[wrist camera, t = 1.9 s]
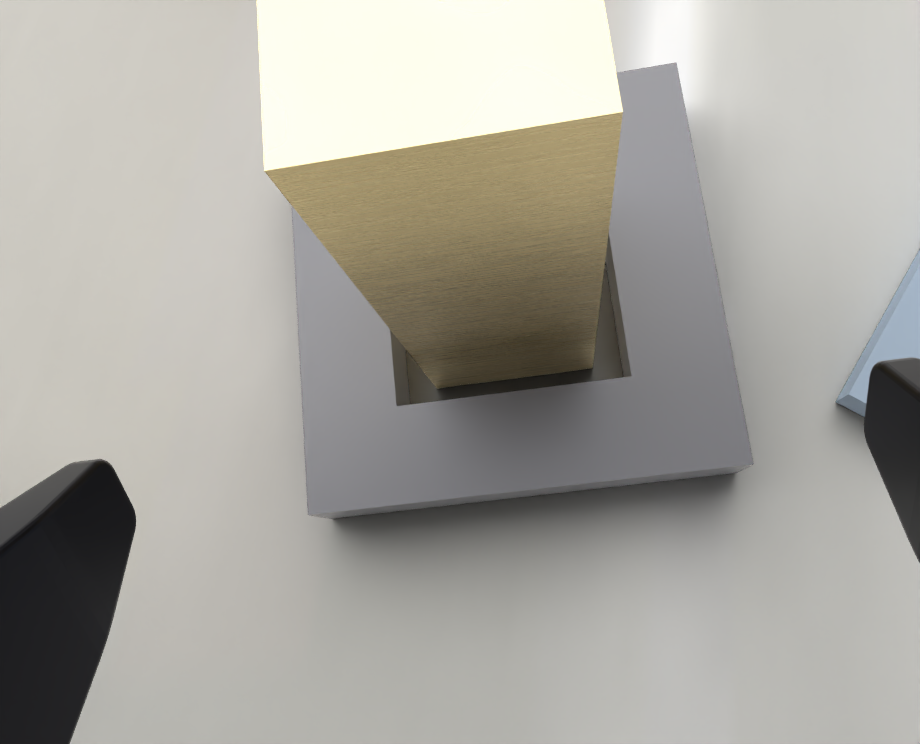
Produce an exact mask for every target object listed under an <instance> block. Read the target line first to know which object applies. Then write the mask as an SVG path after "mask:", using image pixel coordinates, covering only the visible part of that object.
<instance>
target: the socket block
mask: <svg viewBox="0 0 920 744" xmlns="http://www.w3.org/2000/svg"><path fill="white" fill-rule="evenodd" d="M616 75H617V81H618V86H619V92H620V98H621V104H622V110H623V115H622V123H621V132H620V140H619V149H618V157H617V166H616V174H615V182H614V191H613V199H612V208H611V216H610V225H609V233H608V242H607V250H606V259H605V261H606V267H607V274H608V280H609V287H610V293H611V299H612V306H613V312H614V319H615V325H616V331H617V338H618V344H619V351H620V357H621V363H622V370H623V376H624V377H622V378H614V379H606V380H598V381H590V382H583V383H575V384H567V385H559V386H551V387H544V388H536V389H528V390H520V391H512V392H504V393H497V394H489V395H481V396H473V397H465V398H457V399H450V400H442V401H434V402H426V403H418V404H411V405H410V395H409V384H408V372H407V361H406V350H405V348H404V346H403V345H402V344H401V343H400V341H399V340H398V339H397V338H396V336H395V335H394V334H393V332H392V331H391V330H390V329H389V327H388V326H387V325H386V324H385V322H384V321H383V320H382V319H381V317H380V316H379V315H378V314H377V312H376V311H375V310H374V309H373V307H372V306H371V305H370V303H369V302H368V301H367V300H366V298H365V297H364V296H363V295H362V293H361V292H360V291H359V290H358V288H357V287H356V286H355V285H354V283H353V282H352V281H351V280H350V278H349V277H348V276H347V274H346V273H345V272H344V271H343V269H342V268H341V267H340V266H339V264H338V263H337V262H336V261H335V259H334V258H333V257H332V256H331V254H330V253H329V252H328V251H327V249H326V248H325V247H324V245H323V244H322V243H321V242H320V240H319V239H318V238H317V237H316V235H315V234H314V233H313V232H312V230H311V229H310V228H309V227H308V225H307V224H306V223H305V222H304V220H303V219H302V218H301V216H300V215H299V214H298V213H297V211H296V210H295V209H294V208H293V206H292V222H293V241H294V260H295V279H296V298H297V317H298V336H299V355H300V374H301V393H302V412H303V430H304V449H305V468H306V487H307V506H308V515H311V516H318V517H324V518H330V519H333V518H341V517H350V516H359V515H368V514H377V513H386V512H395V511H403V510H412V509H421V508H430V507H439V506H448V505H457V504H465V503H474V502H483V501H492V500H501V499H510V498H518V497H527V496H536V495H545V494H554V493H563V492H572V491H580V490H589V489H598V488H607V487H616V486H625V485H634V484H642V483H651V482H660V481H669V480H678V479H687V478H696V477H704V476H713V475H722V474H731V473H737V472H739V471H741V470H743V469H745V468H747V467H749V466H751V465H753V464H754V463H753V458H752V453H751V448H750V442H749V437H748V432H747V427H746V422H745V417H744V411H743V406H742V401H741V396H740V391H739V385H738V380H737V375H736V370H735V365H734V359H733V354H732V349H731V344H730V339H729V333H728V328H727V323H726V318H725V313H724V307H723V302H722V297H721V292H720V287H719V281H718V276H717V271H716V266H715V261H714V255H713V250H712V245H711V240H710V235H709V229H708V224H707V219H706V214H705V209H704V203H703V198H702V193H701V188H700V183H699V177H698V172H697V167H696V162H695V157H694V152H693V146H692V141H691V136H690V131H689V126H688V120H687V115H686V110H685V105H684V100H683V94H682V89H681V84H680V79H679V74H678V68H677V63H671V64H665V65H659V66H653V67H647V68H641V69H635V70H629V71H624V72H618V73H616Z"/></svg>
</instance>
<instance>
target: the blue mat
mask: <svg viewBox="0 0 920 744" xmlns="http://www.w3.org/2000/svg"><path fill="white" fill-rule="evenodd" d="M908 357H914V358H919V359H920V249H919V251H918V253H917V255H916V257H915V259H914V260H913V262H912V264H911V266H910V268H909V269H908V271H907V273H906V275H905V277H904V279H903V280H902V282H901V284H900V286H899V288H898V289H897V291H896V293H895V295H894V297H893V298H892V300H891V302H890V304H889V306H888V308H887V309H886V311H885V313H884V315H883V317H882V318H881V320H880V322H879V324H878V326H877V327H876V329H875V331H874V333H873V335H872V337H871V338H870V340H869V342H868V344H867V346H866V347H865V349H864V351H863V353H862V355H861V356H860V358H859V360H858V362H857V364H856V366H855V367H854V369H853V371H852V373H851V375H850V376H849V378H848V380H847V382H846V384H845V385H844V387H843V389H842V391H841V393H840V395H839V396H838V398H837V400H836V402H837V403H839V404H840V405H842V406H844V407H846V408H848V409H850V410H852V411H854V412H856V413H858V414H859V415H861V416H863V417H865V410H866V402H867V393H868V385H869V377H870V372H871V370H872V367H873V366H874V365H875V364H876V363H877V362H879V361H885V360H893V359H900V358H908Z"/></svg>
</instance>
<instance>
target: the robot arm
mask: <svg viewBox="0 0 920 744" xmlns="http://www.w3.org/2000/svg"><path fill="white" fill-rule="evenodd" d="M864 432H865V437H866V441H867V444H868V447H869V449H870V451H871V454H872V456H873V458H874V461H875V463H876V465H877V468H878V470H879V472H880V475H881V477H882V479H883V482H884V484H885V486H886V489H887V491H888V493H889V496H890V498H891V500H892V503H893V505H894V507H895V509H896V512H897V514H898V516H899V519H900V521H901V523H902V526H903V528H904V530H905V533H906V535H907V537H908V540H909V542H910V544H911V546H912V548H913V550H914V553H915V555H916V557H917V559H918V561H919V562H920V359H919V358H914V357H908V358H900V359H893V360H885V361H879V362H877V363H876V364H875V365H874V366H873V367H872V370H871V372H870V377H869V385H868V393H867V402H866V410H865V418H864ZM135 527H136V515H135V511H134V508H133V506H132V504H131V502H130V500H129V498H128V496H127V494H126V492H125V490H124V488H123V486H122V484H121V482H120V480H119V478H118V476H117V474H116V472H115V470H114V468H113V467H112V465H111V464H110V463H109V462H107V461H105V460H102V459H96V460H88V461H80V462H74V463H71V464H69V465H67V466H65V467H64V468H62V469H60V470H59V471H57V472H56V473H54V474H53V475H51V476H50V477H48V478H46V479H45V480H43V481H42V482H40V483H39V484H37V485H35V486H34V487H32V488H31V489H29V490H28V491H26V492H25V493H23V494H21V495H20V496H18V497H17V498H15V499H14V500H12V501H11V502H9V503H7V504H6V505H4V506H3V507H1V508H0V744H70V741H71V739H72V736H73V733H74V730H75V728H76V725H77V722H78V719H79V717H80V714H81V711H82V708H83V706H84V703H85V700H86V697H87V695H88V692H89V689H90V687H91V684H92V681H93V678H94V676H95V673H96V670H97V667H98V665H99V662H100V659H101V656H102V653H103V650H104V647H105V644H106V641H107V638H108V635H109V631H110V628H111V624H112V621H113V617H114V613H115V609H116V605H117V601H118V597H119V593H120V589H121V585H122V581H123V577H124V573H125V569H126V565H127V561H128V557H129V553H130V549H131V545H132V541H133V537H134V533H135Z"/></svg>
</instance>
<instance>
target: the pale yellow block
mask: <svg viewBox="0 0 920 744" xmlns="http://www.w3.org/2000/svg"><path fill="white" fill-rule="evenodd" d="M257 17H258V40H259V62H260V85H261V108H262V130H263V153H264V171H265V172H266V174H267V175H268V176H269V177H270V179H271V180H272V181H273V182H274V184H275V185H276V186H277V187H278V189H279V190H280V191H281V193H282V194H283V195H284V196H285V198H286V199H287V200H288V201H289V203H290V204H291V205H292V206H293V208H294V209H295V210H296V211H297V213H298V214H299V215H300V216H301V218H302V219H303V220H304V222H305V223H306V224H307V225H308V227H309V228H310V229H311V230H312V232H313V233H314V234H315V235H316V237H317V238H318V239H319V240H320V242H321V243H322V244H323V245H324V247H325V248H326V249H327V251H328V252H329V253H330V254H331V256H332V257H333V258H334V259H335V261H336V262H337V263H338V264H339V266H340V267H341V268H342V269H343V271H344V272H345V273H346V274H347V276H348V277H349V278H350V280H351V281H352V282H353V283H354V285H355V286H356V287H357V288H358V290H359V291H360V292H361V293H362V295H363V296H364V297H365V298H366V300H367V301H368V302H369V303H370V305H371V306H372V307H373V309H374V310H375V311H376V312H377V314H378V315H379V316H380V317H381V319H382V320H383V321H384V322H385V324H386V325H387V326H388V327H389V329H390V330H391V331H392V332H393V334H394V335H395V336H396V338H397V339H398V340H399V341H400V343H401V344H402V345H403V346H404V348H405V349H406V350H407V351H408V353H409V354H410V355H411V356H412V358H413V359H414V360H415V361H416V363H417V364H418V365H419V367H420V368H421V369H422V370H423V372H424V373H425V374H426V375H427V377H428V378H429V379H430V380H431V382H432V383H433V384H434V385H435V387H436V388H445V387H453V386H461V385H468V384H476V383H484V382H491V381H499V380H507V379H515V378H522V377H530V376H538V375H545V374H553V373H561V372H568V371H576V370H584V369H592V368H593V360H594V352H595V343H596V335H597V327H598V318H599V310H600V301H601V293H602V284H603V276H604V267H605V259H606V250H607V242H608V233H609V225H610V216H611V208H612V199H613V191H614V182H615V174H616V166H617V157H618V149H619V140H620V132H621V123H622V115H623V110H622V104H621V98H620V92H619V86H618V81H617V75H616V69H615V63H614V57H613V51H612V45H611V40H610V34H609V28H608V22H607V16H606V10H605V4H604V0H257Z"/></svg>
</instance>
